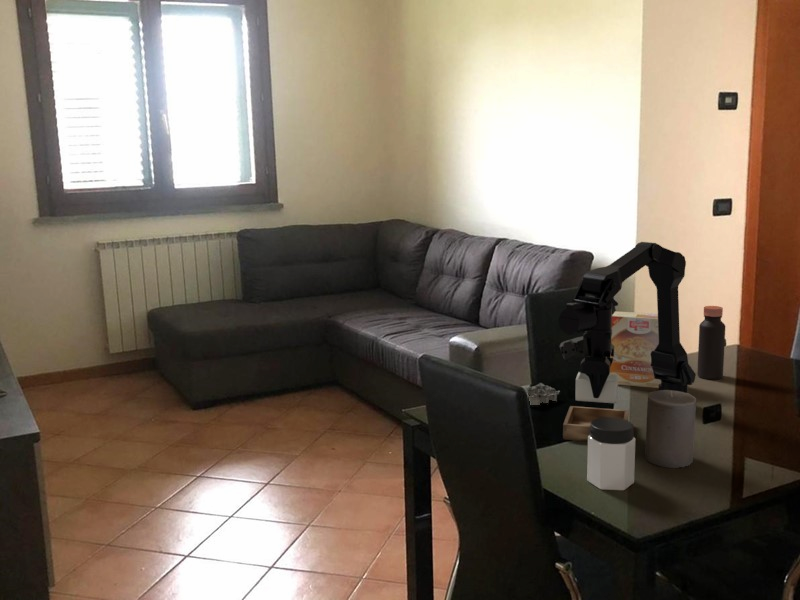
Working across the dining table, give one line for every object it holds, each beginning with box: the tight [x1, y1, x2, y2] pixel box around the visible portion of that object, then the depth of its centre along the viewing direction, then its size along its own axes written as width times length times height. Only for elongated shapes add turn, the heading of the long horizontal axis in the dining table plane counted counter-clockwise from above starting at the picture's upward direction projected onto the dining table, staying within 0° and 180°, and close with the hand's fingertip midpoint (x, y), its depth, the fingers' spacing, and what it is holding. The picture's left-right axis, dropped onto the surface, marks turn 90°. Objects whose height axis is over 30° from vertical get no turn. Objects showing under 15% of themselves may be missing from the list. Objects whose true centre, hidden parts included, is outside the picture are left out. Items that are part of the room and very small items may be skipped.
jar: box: [586, 417, 636, 491], centre depth 155 cm, size 9×8×12 cm
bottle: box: [696, 305, 726, 381], centre depth 223 cm, size 7×7×20 cm
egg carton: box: [524, 382, 561, 406], centre depth 207 cm, size 11×8×4 cm
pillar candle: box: [644, 390, 697, 469], centre depth 165 cm, size 10×10×15 cm
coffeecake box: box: [609, 310, 661, 389], centre depth 218 cm, size 15×7×20 cm, turn 67°
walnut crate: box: [562, 405, 630, 442], centre depth 183 cm, size 14×14×4 cm
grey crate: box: [575, 371, 619, 404], centre depth 182 cm, size 9×6×5 cm, turn 72°
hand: (597, 393), depth 182 cm, fingers closed on grey crate, 6 cm apart
